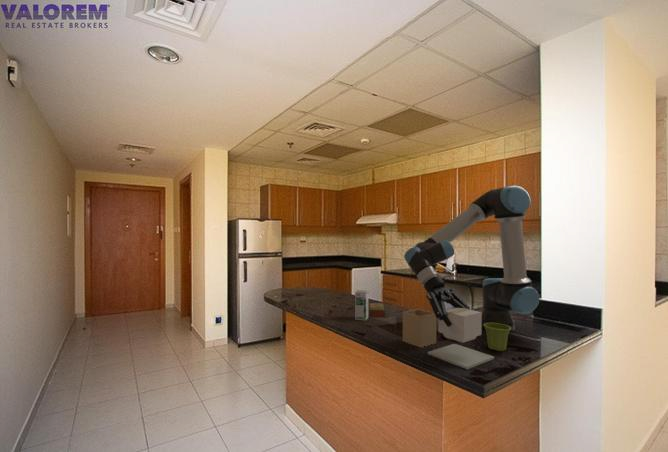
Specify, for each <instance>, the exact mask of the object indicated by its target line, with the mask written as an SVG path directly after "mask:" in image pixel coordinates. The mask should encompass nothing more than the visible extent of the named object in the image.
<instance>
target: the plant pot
mask: <svg viewBox="0 0 668 452" xmlns="http://www.w3.org/2000/svg"><path fill="white" fill-rule="evenodd" d="M484 326H485V328H484V329H485V333H486V339H487V341H486V342H487V347H488V348H489V349H490V350H495V351H497V352H504V351H506V350H507V345H508V338H509V334H510V332H511V331H510V330H511V327H509V326H507V325H504V324H499V323H485V324H484Z"/></svg>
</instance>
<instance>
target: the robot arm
mask: <svg viewBox="0 0 668 452" xmlns="http://www.w3.org/2000/svg"><path fill="white" fill-rule="evenodd" d="M529 207H531V196H530V195H529V193H528V191H527V190H525V188H523V187H522V186H519V185H509V186H503V187H499V188H495V189H490V190H488V191H486V192H485V193H483V194H481V195H480V196H479V197H478V198H476V199H474V201H472V202H471V203H470V204H468V208H467V209H465V210H464V211H463V212H461V213H460V214H459V215H457V216H456V217H455V218H453V219H452V220H451V221H449V222H448V223H447V224H445V225H444V226H443V227H442V228H439V230H437V231H436V232H435V233H433V234H432V235H431V236H430V237H428V238H426V239H425V240H424V241H420V242H418V243H416V244H415V245H414V246H413V247H411V248H409V249H408V250H406V252H405V253H404V256H403V257H404V260H405V262H406V263H407V266H408V267H409V268H410V269H411V271H412V272H413V274H414V275H415V277H416V278H417V279H418V280H419V282H420V283H421V286H423V288H424V290H425V291H426V292H427V294H426V296H425V297H426V298H427V300H428V301H429V303H430V306H431V309H432V312H433V313H434V314H435V316H436V319H438V321H439V320H442V319H443V321H444V322H445V324H446V325H447V326H448V327H449V329H450V330H451V332H452V333H453V335H454V336H456V335H457V334H458V333H460V332H461V331H460V330H459V328H458V327H457V326H456V324H455V323H454V321H453V320H452V318H451V317H450V316H449V315H448V316H447V313H446V306H445V304H450V305H451V306H452V307H458V308H466V309H471V307H470V306H469V305H468V304H467V303H466V302H465V301H464V300H463V299H462V298H461V297H460V296H459V295H458V294H456V292H455V291H454V289H453V288H450V289H447V288H446V287H445V285H446V283H445V281H444V280H443V278H442V277H441V276H440V274H439V273H438V271H436V268H434V266H435V265H438V264H440V263H441V262H444V261H446V260H448V259H450V258H452V257H453V256H454V255H455V248H454V246H453V244H452V242H453V241H454V240H455V239H457V238H458V237H460V236H461V235H462V234H464V233H465V232H466V231H468V230H469V229H470V228H471V227H473V226H474V225H475V224H478V222H480V221H481V222H483V221H484V220H485V221H486V219H487V218H489V217H492V216H494V220H496V221H497V222H498V223H499V224H498V225H499V234H500V235H499V236H500V245H501V257H502V258H501V259H502V268H503V277H502V278H501V277H500V278H499V277H498V278H495V277H494V278H492V277H491V278H484V279H483V281H482V286H481V287H482V310H481V312H482V315H481V329H485V326H484V324H485V323H499V324H504V325H507V326H509V327H511V330H510V331H509V332H513V331H515V329H516V326H515V321H514V319H513V316H512V313H511V311H512V312H514V313H517V314H518V313H519V314H524V315H528V314H530V313H533V312H534V311H535V310H536V308H537V307H538V305H539V304H540V294H539V292H538V291H537V289H536V288H534V287H533V285H532V280H531V278H529V277H528V275H527V265H526V263H527V262H526V255H525V242H524V234H523V222H522V221H523V220H524V219H525V218H526V211H528V210H529Z"/></svg>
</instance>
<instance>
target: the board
mask: <svg viewBox="0 0 668 452" xmlns="http://www.w3.org/2000/svg"><path fill="white" fill-rule="evenodd" d="M427 355H429V356H431V355H432V356H431V357H434V358H436V359H439V360H442V361H444V362H447V363H449V364H452V365H455V366H457V367H460V368H462V369H464V370H470V369H472V368H474V367H476V366H479V365H482V364H485V363H487V362H489V361H493V360H494V359H495V356H493V355H491V354H488V353H484V352H481V351H477V350H476V349H472V348H469V347H466V346H463V345H460V344H457V343H452V344H449V345H446V346H442V347H439V348H436V349H433V350H430V351H427Z"/></svg>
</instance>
